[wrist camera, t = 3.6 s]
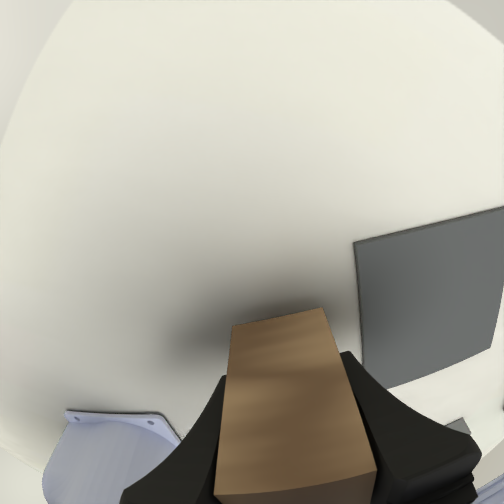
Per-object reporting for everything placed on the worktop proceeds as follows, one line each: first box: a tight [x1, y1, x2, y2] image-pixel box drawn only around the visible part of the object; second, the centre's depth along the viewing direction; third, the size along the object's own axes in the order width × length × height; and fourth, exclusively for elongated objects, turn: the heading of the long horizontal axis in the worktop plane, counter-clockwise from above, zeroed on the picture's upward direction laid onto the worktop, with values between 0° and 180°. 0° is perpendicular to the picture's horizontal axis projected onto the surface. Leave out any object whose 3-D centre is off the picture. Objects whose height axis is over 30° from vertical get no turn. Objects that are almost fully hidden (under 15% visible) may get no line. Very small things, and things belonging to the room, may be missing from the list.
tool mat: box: [354, 207, 504, 389], centre depth 14 cm, size 10×10×1 cm
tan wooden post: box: [214, 307, 377, 504], centre depth 10 cm, size 4×4×8 cm
